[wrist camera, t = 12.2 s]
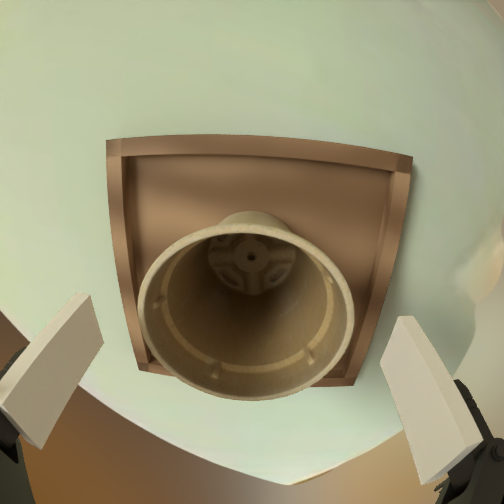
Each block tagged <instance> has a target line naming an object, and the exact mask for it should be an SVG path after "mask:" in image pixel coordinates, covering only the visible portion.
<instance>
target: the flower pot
mask: <svg viewBox="0 0 504 504" xmlns="http://www.w3.org/2000/svg"><path fill="white" fill-rule="evenodd" d="M222 234H226V235H225V237H224V238H223V239H222V240H219V239H218V238H219V236H220V235H222ZM249 255H253V256H254V257H255V258H254V260H250V259H249V258H248V256H249ZM279 271H283V273H282V274H281V276H280V277H279V278H278V279H276V280H275V281H271V279H272V278H273V277H274V274H276V273H278V272H279ZM223 273H224V274H226V275H227V276H228V277H230V278H231V279H232V280H233V281H235V282H237V284H236V285H234V284H230V283H228V281H226V280H225V279H224V278H223V276H222V274H223ZM137 308H138V309H137V310H138V320H139V325H140V329H141V333H142V335H143V337H144V340H145V342H146V344H147V345H148V347H149V349H150V350H151V352H152V354H153V355H154V356H155V358H156V359H157V360H158V361H159V362H160V364H162V365H163V367H164V368H165V369H166V370H167V371H169V372H170V373H171V374H172V375H174V376H176V377H177V378H178V379H180V381H182V382H184V383H186V384H188V385H190V386H192V387H194V388H196V389H198V390H200V391H203V392H205V393H208V394H210V395H214V396H217V397H221V398H226V399H233V400H242V401H243V400H244V401H260V400H271V399H276V398H280V397H285V396H288V395H291V394H294V393H297V392H299V391H301V390H303V389H305V388H307V387H310V386H311V385H313V384H314V383H316V382H317V381H319V380H320V379H321V378H323V376H324V375H326V374H327V373H328V372H329V371H330V370H331V369H332V368H333V367H334V366H335V365H336V364H337V363H338V361H339V360H340V359H341V357H342V356H343V354H344V353H345V350H346V349H347V347H348V345H349V342H350V339H351V337H352V332H353V328H354V303H353V298H352V294H351V291H350V289H349V286H348V284H347V282H346V280H345V278H344V276H343V275H342V273H341V272H340V270H339V269H338V267H337V266H336V265H335V264H334V263H333V261H332V260H331V259H330V258H329V257H328V256H327V255H326V254H325V253H324V252H323V251H321V250H320V249H319V248H318V247H317V246H315V245H313V244H312V243H310V242H309V241H307V240H305V239H303V238H302V237H300V236H298V235H295V234H293V233H292V232H291V231H290V229H289V228H288V227H287V226H286V225H285V224H284V223H283V222H282V221H281V220H279V219H277V218H276V217H274V216H272V215H270V214H267V213H264V212H258V211H245V212H239V213H235V214H233V215H230V216H228V217H226V218H225V219H223V220H222V221H221V222H220V223H219V224H217V226H212V227H208V228H205V229H202V230H199V231H197V232H194V233H192V234H189V235H187V236H185V237H183V238H182V239H180V240H178V241H177V242H175V243H174V244H172V245H171V246H170V247H168V248H167V249H166V250H165V251H164V252H163V253H162V254H161V255H160V256H159V257H158V258H157V259H156V260H155V262H154V263H153V264H152V266H151V267H150V269H149V270H148V272H147V274H146V275H145V278H144V280H143V282H142V285H141V287H140V292H139V296H138V306H137Z"/></svg>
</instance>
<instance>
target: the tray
mask: <svg viewBox="0 0 504 504" xmlns="http://www.w3.org/2000/svg"><path fill="white" fill-rule="evenodd" d="M412 162H413V157H412V156H407V155H403V154H398V153H393V152H388V151H383V150H377V149H372V148H366V147H360V146H354V145H347V144H340V143H333V142H325V141H316V140H307V139H297V138H285V137H271V136H254V135H220V134H197V135H164V136H146V137H133V138H122V139H112V140H106V167H107V189H108V203H109V215H110V225H111V234H112V242H113V250H114V257H115V264H116V270H117V276H118V282H119V287H120V293H121V298H122V303H123V308H124V312H125V317H126V322H127V326H128V330H129V334H130V338H131V342H132V346H133V350H134V354H135V357H136V361H137V364H138V368H139V370H141V371H146V372H151V373H156V374H162V375H168V376H174V375H172V374H171V373H170V372H169V371H167V370H166V369H165V368H164V367H163V365H162V364H160V362H159V361H158V360H157V359H156V358H155V356H154V355H153V354H152V352H151V350H150V349H149V347H148V345H147V344H146V342H145V340H144V337H143V335H142V333H141V329H140V325H139V320H138V310H137V309H138V308H137V306H138V296H139V292H140V287H141V285H142V282H143V280H144V278H145V275H146V274H147V272H148V270H149V269H150V267H151V266H152V264H153V263H154V262H155V260H156V259H157V258H158V257H159V256H160V255H161V254H162V253H163V252H164V251H165V250H166V249H167V248H168V247H170V246H171V245H172V244H174V243H175V242H177V241H178V240H180V239H182V238H183V237H185V236H187V235H189V234H192V233H194V232H197V231H199V230H202V229H205V228H208V227H212V226H217V224H219V223H220V222H221V221H222V220H223V219H225V218H226V217H228V216H230V215H233V214H235V213H239V212H245V211H258V212H264V213H267V214H270V215H272V216H274V217H276V218H277V219H279V220H281V221H282V222H283V223H284V224H285V225H286V226H287V227H288V228H289V229H290V231H291V232H292V233H293V234H295V235H298V236H300V237H302V238H303V239H305V240H307V241H309V242H310V243H312V244H313V245H315V246H317V247H318V248H319V249H320V250H321V251H323V252H324V253H325V254H326V255H327V256H328V257H329V258H330V259H331V260H332V261H333V263H334V264H335V265H336V266H337V267H338V269H339V270H340V272H341V273H342V275H343V276H344V278H345V280H346V282H347V284H348V286H349V289H350V291H351V294H352V298H353V303H354V328H353V332H352V337H351V339H350V342H349V345H348V347H347V349H346V350H345V353H344V354H343V356H342V357H341V359H340V360H339V361H338V363H337V364H336V365H335V366H334V367H333V368H332V369H331V370H330V371H329V372H328V373H327V374H326V375H324V376H323V378H321V379H320V380H319V381H317V382H316V383H314V384H313V385H311V386H310V387H335V386H353V385H354V383H355V381H356V378H357V376H358V373H359V371H360V368H361V366H362V363H363V361H364V358H365V356H366V353H367V350H368V348H369V345H370V342H371V339H372V336H373V334H374V331H375V328H376V325H377V322H378V319H379V316H380V312H381V309H382V306H383V303H384V299H385V296H386V292H387V289H388V285H389V282H390V278H391V274H392V270H393V267H394V263H395V258H396V254H397V250H398V245H399V241H400V236H401V231H402V227H403V221H404V216H405V210H406V205H407V199H408V192H409V185H410V178H411V170H412ZM225 235H226V234H222V235H220V236H219V238H218V239H219V240H222V239H223V238H224V237H225ZM248 258H249V259H250V260H254V258H255V257H254V256H253V255H249V256H248ZM282 273H283V271H279V272H278V273H276V274H274V277H273V278H272V279H271V281H275V280H276V279H278V278H279V277H280V276H281V274H282ZM222 276H223V278H224V279H225V280H226V281H228V283H230V284H234V285H236V284H237V282H235V281H233V280H232V279H231V278H230V277H228V276H227V275H226V274H224V273H223V274H222ZM174 377H176V376H174Z"/></svg>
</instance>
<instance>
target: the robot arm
mask: <svg viewBox="0 0 504 504" xmlns="http://www.w3.org/2000/svg"><path fill="white" fill-rule="evenodd" d="M103 344H104V341H103V338H102V335H101V332H100V328H99V325H98V322H97V318H96V315H95V311H94V308H93V304H92V300H91V296H90V295H89V294H82V293H76V294H75V295H74V296H73V297H72V298H71V299H70V300H69V301H68V302H67V303H66V305H65V306H64V307H63V308H62V309H61V310H60V311H59V312H58V313H57V314H56V315H55V316H54V317H53V318H52V319H51V321H50V322H49V323H48V324H47V325H46V326H45V327H44V328H43V329H42V331H41V332H40V333H39V334H38V335H37V336H36V337H35V339H34V340H33V341H32V342H31V343H30V344H29V346H28V347H24V348H22V349H21V350H20V351H18V352H16V353H15V355H14V356H13V357H12V358H11V360H10V361H9V363H7V364H6V366H5V367H4V370H2V371H1V372H0V504H35V501H34V498H33V494H32V491H31V487H30V483H29V479H28V475H27V471H26V467H25V462H24V457H23V452H22V447H21V443H20V440H19V438H18V436H19V434H21V435H22V436H23V438H24V439H25V440H26V441H27V442H29V443H30V444H32V445H34V446H35V447H37V448H39V449H41V450H42V448H43V446H44V444H45V442H46V440H47V438H48V436H49V434H50V432H51V431H52V429H53V427H54V425H55V423H56V421H57V420H58V418H59V416H60V414H61V412H62V411H63V409H64V407H65V405H66V404H67V401H68V400H69V398H70V397H71V395H72V393H73V392H74V390H75V388H76V386H77V385H78V383H79V382H80V380H81V378H82V377H83V375H84V373H85V372H86V370H87V369H88V367H89V365H90V364H91V362H92V361H93V359H94V357H95V356H96V354H97V353H98V351H99V350H100V348H101V347H102V345H103ZM380 366H381V368H382V371H383V373H384V376H385V378H386V381H387V383H388V386H389V389H390V391H391V394H392V397H393V399H394V402H395V405H396V408H397V410H398V413H399V416H400V419H401V422H402V425H403V427H404V430H405V433H406V436H407V439H408V443H409V446H410V449H411V452H412V455H413V458H414V462H415V465H416V468H417V472H418V475H419V479H420V483H421V485H424V484H427V483H430V482H433V481H435V480H438V479H439V478H441V477H442V476H443V475H445V474H446V473H447V472H448V475H449V477H448V478H447V479H446V480H445V481H443V482H442V483H441V484H439V485H438V486H436V488H435V489H434V491H437V490H439V489H440V488H442V487H443V488H442V490H441V491H440V492H439V493H440V495H439V497H438V499H437V502H436V504H504V440H503V439H502V438H494V437H493V436H492V434H491V432H490V430H489V428H488V426H487V424H486V422H485V420H484V418H483V416H482V414H481V412H480V410H479V408H477V405H476V403H475V401H474V399H472V398H473V397H472V396H471V394H470V392H469V390H468V388H467V387H466V386H465V385H464V384H463V383H462V382H461V381H460V380H458V379H457V380H453V379H452V378H451V376H450V374H449V372H448V371H447V369H446V367H445V365H444V364H443V362H442V360H441V359H440V357H439V355H438V354H437V352H436V351H435V349H434V347H433V346H432V344H431V342H430V341H429V339H428V338H427V336H426V335H425V333H424V332H423V330H422V328H421V327H420V325H419V324H418V322H417V321H416V319H415V318H414V316H398V318H397V321H396V324H395V326H394V329H393V332H392V334H391V337H390V339H389V342H388V344H387V347H386V349H385V351H384V354H383V356H382V358H381V361H380Z"/></svg>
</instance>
